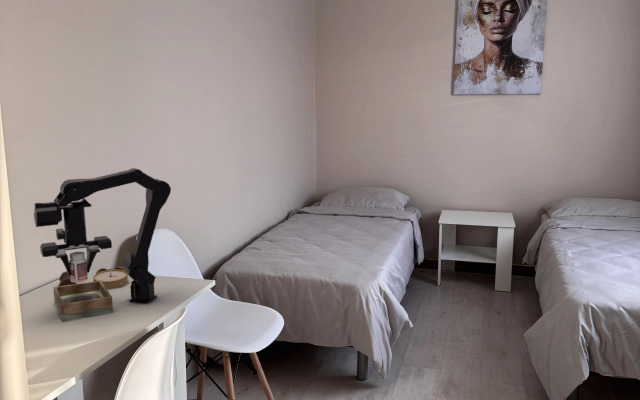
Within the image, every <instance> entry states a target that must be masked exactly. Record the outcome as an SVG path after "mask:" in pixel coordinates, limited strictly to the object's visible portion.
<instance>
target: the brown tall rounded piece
mask: <svg viewBox="0 0 640 400" xmlns="http://www.w3.org/2000/svg"><path fill="white" fill-rule="evenodd" d="M58 280H59V283H58V285H57V287H59V286H66V285H73V284H78V283H75V282H71V279H70V276H69V275H68V272H67V270H65V271H63V272H62V273H61V274H60V276H59V278H58Z"/></svg>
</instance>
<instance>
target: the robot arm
mask: <svg viewBox="0 0 640 400" xmlns="http://www.w3.org/2000/svg"><path fill="white" fill-rule="evenodd" d="M132 183H133V184H134V183H137V184H138V186H141V187H143V188H145V209H144V212H143V216H142V219H141V222H140V225H139V226H140V227H139V230H138V233H137V236H136V240H135V243H134V247H133V249H132V250H131V251H130V252H127V251H126V252H125V254H124V255H125V256H124V260H123V262H122V265H123V268H124V271H125V272H126V273H127V274H128V276H129V277H130V279H132V281H131V282H130V287H129V288H130V299H129V301H128V302H130V303H140V304H149V303H150V302H152V301H153V300H155V299H157V298H158V295H157V294H155V281H156V276H155V275H154V274H153V273H151V272H150V271H149V265H150V261H149V251H150V246H151V244H152V243H151V242H152V239H153V236H154V233H155V230H156V226H157V222H158V219H159V215H160V212H161V210H162V208H163V207H164V205H166V202H167V201H168V199H169V197H170V195H171V191H172V188H171V187H172V186H170V184H169V183H168V182H167V181H165V180H161V179H159V178H154V177H152V176H150V175H148V174H147V173H145V172H144V171H142V170H141V169H139V168H136V167H132V168H130V169H128V170H123V171H119V172H114V173H110V174H105V175H102V176H97V177H94V178H93V177H92V178H72V179H71V178H70V179H66V180H64V181H63V182H62V183H61V185H60V187H59V190H60V191H59V192H58V194H57V196H56V197H55V198H54V200H53V201H51V202H35V203H34V207H33V209H34V213H33V219H34V225H35V227H36V228H40V227H50V226H58V225H59V223H61V222H62V221H63V226H64V228H63V227H61V228H57V229H55V232H56V233H55V234H56V240H57V241H58V240H59V241H61V240H63V242H64V244H63V243H62V244H57V243H56V242H55V241H53V242H46V243H44V242H43V243H42V244H41V245H40V248H39V249H40V250H39V251H40V254H41V257H43V258H47V257H55V258H56V259H60V260H61V262H62V263H63V265H64V268H65V271H67V272H68V275H69V276H70V275H71V271H70V266H69V261H70V260H69V257H68V254H67V253H66V252H67V251H70V250H71V251H72V250H79V249H80V250H81V249H85V250H86V262H87V274H89V272H90V270H91V268H92V266H93V262H94V260H95V258H96V256H97V254H98V253H101V250H107V249H111V248H113V245H112V240H111V238H109V237H108V236H107V235H101V236H94V237H93V240H88V239H87V237H88V235H87V223H86V211H85V208H91V207H92V206H93V205H92V204H91V203H90V202H89V201H87V199H86V198H88V197H90V196H91V195H93V194H95V193H97V192H101V191H104V190H109V189H113V188H116V187H121V186H125V185H128V184H129V185H130V184H132Z"/></svg>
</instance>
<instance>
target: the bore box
mask: <svg viewBox="0 0 640 400" xmlns="http://www.w3.org/2000/svg"><path fill="white" fill-rule="evenodd" d="M53 297H54V304H55V307H56V308H55V309H56V310H57V313H58V315H59V318H60V321H61V323H65V322H70V321H75V320H79V319H86V318H93V317H98V316H102V315H108V314H113V313H114V309H113V297H112V295H111V294H110V292H109V289H106V287H105V286H104V284H103V283H102V281H101V280H100V281H87V282H79V283H77V284H73V285H66V286H59V287H58V286H54V287H53Z"/></svg>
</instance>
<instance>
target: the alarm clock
mask: <svg viewBox="0 0 640 400" xmlns="http://www.w3.org/2000/svg"><path fill="white" fill-rule="evenodd" d="M128 276H129V275H128V274H127V273H126V272H125V271H124V267H123V266H116V267H115V268H105V267H101V268H99V269H97V271H96V272H95V274H94V275H93V277H92V278H93V281H100V280H101V281H102V283H103V284H104V286H105V287H106V289H107V290H114V289H119V288H123V287H125V286H126V285H127V284H128V283H129V281H128V280H129V279H128ZM93 281H92V282H93Z"/></svg>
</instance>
